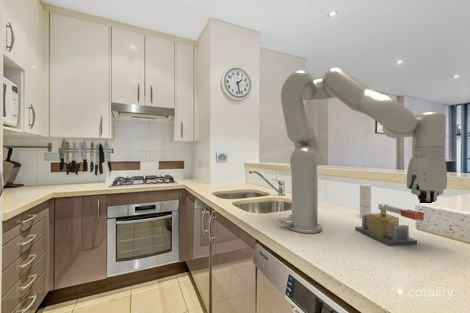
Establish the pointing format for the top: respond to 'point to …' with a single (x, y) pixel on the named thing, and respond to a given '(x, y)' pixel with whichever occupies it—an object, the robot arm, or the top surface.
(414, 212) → the valve lever
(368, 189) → the tube
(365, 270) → the top surface
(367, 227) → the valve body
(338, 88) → the robot arm
